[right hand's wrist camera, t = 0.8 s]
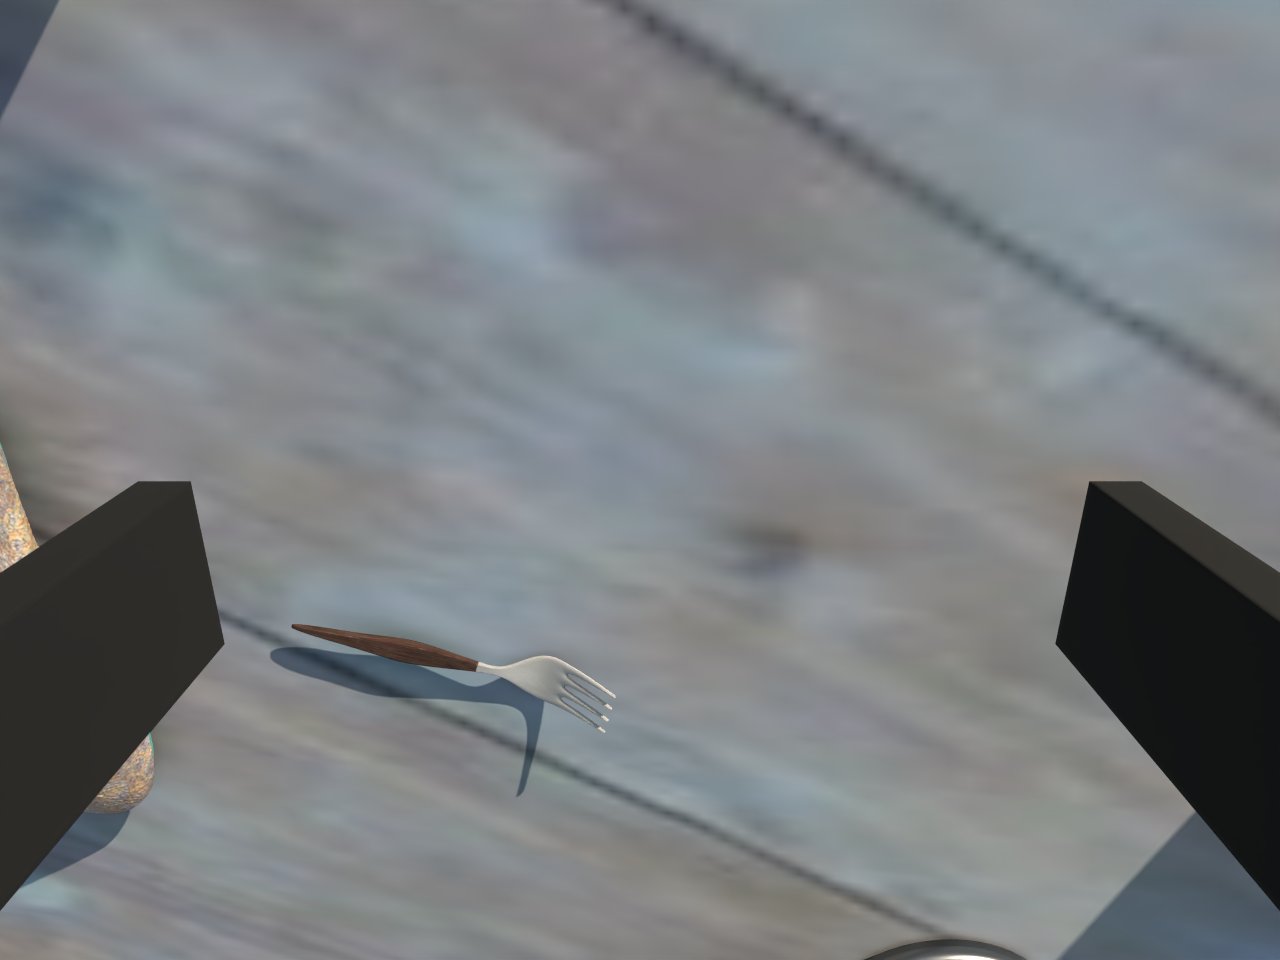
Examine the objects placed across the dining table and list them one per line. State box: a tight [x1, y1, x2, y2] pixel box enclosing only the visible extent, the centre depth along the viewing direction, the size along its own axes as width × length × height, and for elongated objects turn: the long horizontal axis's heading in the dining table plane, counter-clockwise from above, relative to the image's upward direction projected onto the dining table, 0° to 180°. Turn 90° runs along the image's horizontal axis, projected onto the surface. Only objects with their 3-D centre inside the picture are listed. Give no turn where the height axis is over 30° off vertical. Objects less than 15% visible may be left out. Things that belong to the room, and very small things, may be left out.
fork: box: [292, 624, 616, 733], centre depth 41 cm, size 3×16×2 cm, turn 75°
